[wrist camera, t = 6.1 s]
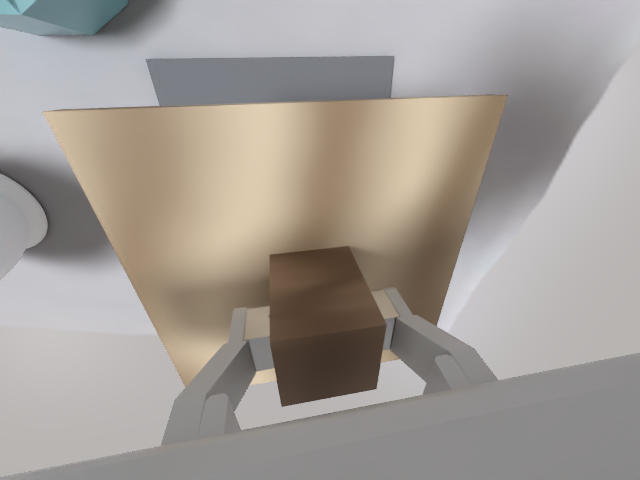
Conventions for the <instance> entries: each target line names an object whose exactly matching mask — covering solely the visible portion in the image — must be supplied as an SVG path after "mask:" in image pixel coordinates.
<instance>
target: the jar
mask: <svg viewBox="0 0 640 480" xmlns="http://www.w3.org/2000/svg"><path fill="white" fill-rule="evenodd" d="M47 228H48V223H47V218H46V215H45V212H44V210H43V208H42V207H41V205H40V204H39V203H38V201H37V200H36V199H35V198H34V197H33V196H32V195H31V194H30V193H29V192H28V191H27V190H26V189H25V188H23V187H22V186H21V185H19V184H18V183H17V182H15V181H13V180H12V179H10V178H8V177H7V176H5V175H2V174H0V280H1V279H2V278H3V277H4V276H5V275H6V274H7V273H8V272H9V271H10V270H11V269H12V268H13V267H14V266H15V265H16V264H17V262H18V261H19V260H20V258H21V257H22V255H23V253H24V251H25V249H28V248H31V247H33V246H35V245H37V244H38V243H39V242H41V241H42V239H43V238H44V237H45V235H46V232H47Z"/></svg>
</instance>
